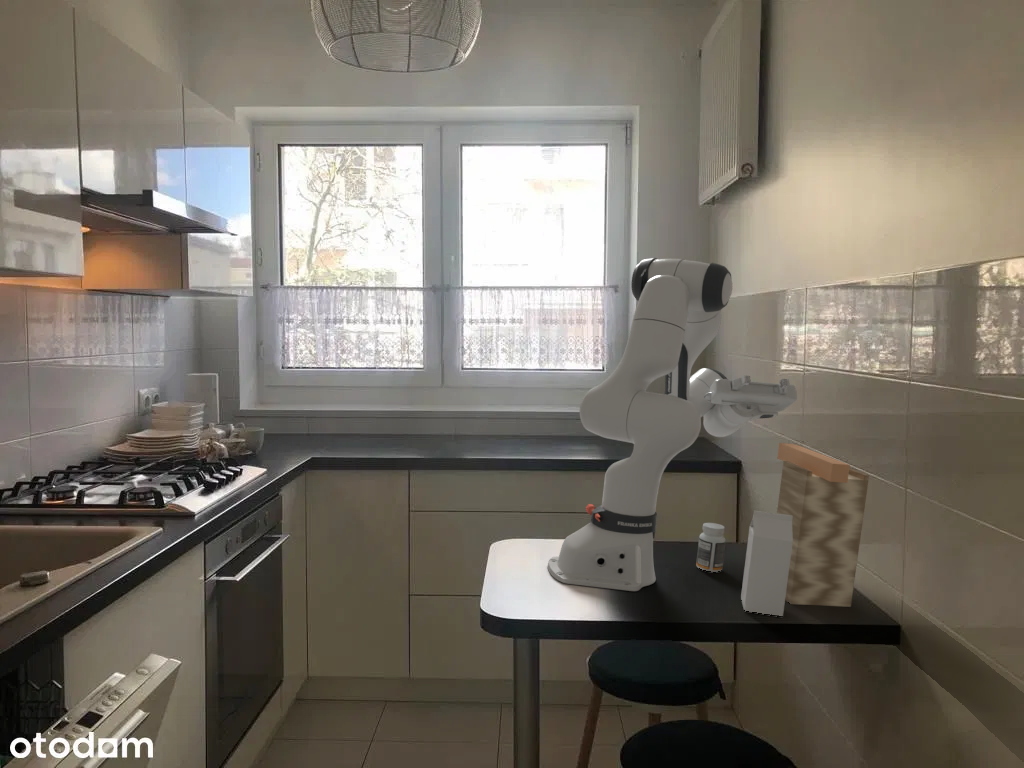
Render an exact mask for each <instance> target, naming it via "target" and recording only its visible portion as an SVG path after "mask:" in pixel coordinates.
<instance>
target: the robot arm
mask: <svg viewBox="0 0 1024 768" xmlns="http://www.w3.org/2000/svg"><path fill="white" fill-rule="evenodd" d="M630 282H631V283H630V285H631V287H630V288H631V293H632V295H633V297H634V298H635V300H636V301H637V305H636V307H635V311H634V313H633V318H632V323H631V327H630V330H629V335H628V338H627V342H626V346H625V348H624V352H623V353H622V357H621V359H620V360H619V362H618V363H617V366H616V367H615V369H614V370H613V371H612V372H611V374H610V375H608V377H607V378H606V379H604V380H603V381H602V382H600V383H599V384H598V385H596V386H593V387H592V388H590V389H589V390H588V391H587V392H586V393H585V395H584V396H583V397H582V399H581V402H580V405H579V417H580V418H579V419H580V422H581V424H582V426H583V428H584V430H586V431H588V432H590V433H592V434H594V435H597V436H599V437H601V438H605V439H608V440H615V441H618V442H620V441H621V442H626V443H631V444H633V448H632V451H631V455H630V456H629V457H626V458H623V459H621V460H618V461H615V462H614V463H612V464H611V465H609V466H608V468H607V470H606V472H605V474H604V482H603V490H602V491H603V492H602V500H601V504H600V505H598V506H595V505H594V504H592V503H588V504H587V505H586V506H585V511H586V513H587V514H589V515H590V522H588V523H587V524H586V525H584V526H582V527H580V529H578V530H576V531H575V532H573V533H571V534H568V536H566V537H565V539H564V540H563V542H562V544H561V548H560V550H559V554H558V556H552V557H550V558H549V559H548V563H547V569H548V572H549V573H550V575H551V576H552V577H553V578H554V579H555V580H557V581H558V582H561V583H563V584H567V585H568V584H569V585H578V586H586V587H593V588H602V589H612V590H617V591H627V592H628V591H629V592H638V591H640V590H641V589H642V588H644V587H647V586H650V585H652V584H654V583H655V582H656V581H657V578H656V573H655V567H654V565H655V564H654V539H655V538H656V537H655V534H656V532H657V525H658V519H657V518H658V513H657V512H656V507H657V499H658V495H659V487H660V483H661V479H662V476H663V473H664V471H665V470H666V468H667V466H668V464H669V463H670V462H671V461H672V460H673V458H675V457H676V456H677V455H678V454H679V453H680V452H683V451H685V450H687V449H688V448H689V447H691V446H692V445H693V444H694V443H695V442H696V440H697V439H698V437H699V436H700V435H699V434H700V432H701V427H702V421H703V428H704V429H705V431H706V432H707V433H708V434H709V435H711V436H713V437H715V438H716V437H717V438H725V437H728V436H731V435H733V434H734V433H736V432H737V431H738V430H740V429H741V428H742V427H743V426H744V425H745V424H747V423H748V422H751V421H755V420H760V419H770V418H776V417H778V416H779V412H782V411H784V410H786V409H787V408H789V407H790V406H792V405H793V404H794V403H796V401H797V399H798V393H797V388H796V386H795V385H794V384H790V379H789V378H782V379H780V380H779V383H775V382H774V383H773V382H763V381H762V382H761V381H760V382H759V381H751V380H752V379H751V376H750V375H744V374H743V375H742V376H741V377H738V378H735V379H729V378H727V376H725V375H724V374H723V373H722V372H721V371H718V370H717V369H715V368H710V367H702V368H700V369H698V370H697V371H696V372H694V374H692V375H691V371H692V367H693V366H694V363H696V360H697V359H698V357H699V356H700V355H701V354H702V352H703V351H704V350H705V349H706V348H707V347H708V345H710V344H711V342H712V341H713V340H714V339H715V338H716V336H717V335H718V333H719V330H720V327H721V322H722V309H723V308H725V307H726V306H727V305H728V303H729V302H730V299H731V298H730V297H731V296H732V293H733V280H732V274H731V272H730V271H729V269H728V268H727V267H726V266H725V265H722V264H719V263H714V262H711V263H709V262H708V263H707V262H704V261H697V260H696V261H695V260H688V259H685V258H657V257H650V258H646V259H642V260H641V261H640V262H639V263H638V264H636V266H635V267H634V269H633V272H632V276H631V281H630ZM664 376H665V377H664ZM662 377H664V380H665V381H664V382H665V383H664V393H659V392H653V391H647V389H648V388H649V387H650V385H651V383H653V382H654V381H655V380H658V379H659V378H662ZM702 417H703V420H702V419H701V418H702Z"/></svg>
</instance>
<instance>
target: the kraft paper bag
mask: <svg viewBox="0 0 1024 768" xmlns="http://www.w3.org/2000/svg"><path fill="white" fill-rule="evenodd" d="M781 471H782V472H781V478H780V484H779V485H780V486H779V492H778V493H779V494H778V501H777V509H776V513H777V514H784V515H792V516H793V517H792V533H793V543H792V551H791V558H790V566H789V574H788V581H787V589H786V597H785V602H787V603H788V602H789V603H790V605H804V606H806V605H808V606H823V607H824V606H827V607H849V608H851V607H852V601H853V593H854V586H855V579H856V572H857V564H858V556H859V550H860V545H861V544H860V543H861V536H862V529H863V522H864V516H865V508H866V499H867V493H868V488H869V487H868V486H869V479H870V475H869V474H868V473H867V474H866V473H863V472H861V471H858V470H856V469H854V468H850V467H849V475H848V482H847V483H843V482H830V481H828V480H825V479H823V478H821V477H819V476H816V475H814V474H812V471H810V470H808V469H805V468H803V467H801V466H798V465H796V464H794V463H791V462H789V461H783V464H782V470H781ZM789 603H788V604H789Z"/></svg>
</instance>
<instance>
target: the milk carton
mask: <svg viewBox="0 0 1024 768" xmlns="http://www.w3.org/2000/svg"><path fill="white" fill-rule="evenodd" d="M792 517H793V516H792V515H784V514H777V512H769V511H768V512H767V511H761V510H753V515H752V518H751V522H750V524H749V527H748V538H747V545H746V553H745V562H744V569H743V578H742V588H741V592H740V593H741V594H740V600H742V601H741V604H742V607H743V611H744V610H745V611H744V612H746V611H749V612H748V613H752V612H757V613H756V614H758V613H762V614H761V615H764V614H770V615H771V614H772V615H779V616H783V617H784V611H785V605H786V604H785V603H786V600H785V597H786V589H787V581H788V574H789V566H790V558H791V551H792V543H793V533H792ZM770 615H769V616H770Z"/></svg>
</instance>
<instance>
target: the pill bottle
mask: <svg viewBox="0 0 1024 768" xmlns="http://www.w3.org/2000/svg"><path fill="white" fill-rule="evenodd" d="M725 529H726V528H725V526H724V525H723V524H720V523H716V522H704V523H703V524H702V531H703V532H701V533H700V534H699V535H698V536H699V537H698V546H697V553H696V554H697V555H696V563H695V565H696V568H698V569H699V568H700V569H702V570H701V571H703V570H706V571H711V572H710V573H713V572H716V573H719V572H718V571H720V572H722V571H723V566H724V559H725V558H724V557H725V548H726V541H727V540H726V538H725V536H724V534H725ZM700 569H699V570H700ZM721 570H722V571H721ZM706 571H705V572H706Z"/></svg>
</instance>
